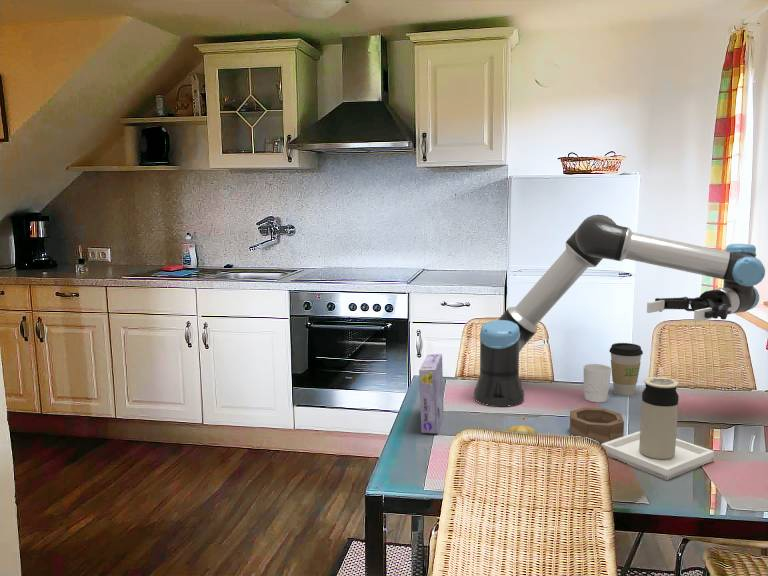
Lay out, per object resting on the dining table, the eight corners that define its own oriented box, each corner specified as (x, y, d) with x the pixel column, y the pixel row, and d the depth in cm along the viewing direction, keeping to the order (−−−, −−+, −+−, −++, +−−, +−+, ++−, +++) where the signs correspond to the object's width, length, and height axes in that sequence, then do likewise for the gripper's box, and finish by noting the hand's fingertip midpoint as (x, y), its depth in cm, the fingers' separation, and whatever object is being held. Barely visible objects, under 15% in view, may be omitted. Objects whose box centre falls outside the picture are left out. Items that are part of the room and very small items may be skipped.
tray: (600, 453, 164) (601, 443, 163) (647, 437, 173) (647, 428, 173) (666, 480, 149) (667, 469, 148) (713, 461, 158) (714, 451, 158)
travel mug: (682, 457, 158) (687, 384, 155) (653, 462, 156) (657, 387, 153) (659, 444, 166) (664, 374, 163) (632, 448, 164) (635, 377, 161)
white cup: (580, 394, 208) (581, 363, 207) (606, 395, 207) (608, 364, 206) (584, 402, 201) (585, 370, 199) (611, 403, 200) (613, 371, 198)
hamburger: (504, 473, 153) (504, 423, 151) (503, 460, 160) (504, 412, 158) (538, 475, 152) (539, 425, 150) (536, 462, 159) (538, 414, 157)
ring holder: (559, 432, 178) (560, 414, 177) (592, 422, 185) (593, 404, 184) (599, 447, 167) (600, 428, 166) (632, 436, 174) (633, 418, 173)
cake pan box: (427, 410, 196) (427, 351, 193) (444, 411, 195) (444, 352, 192) (418, 434, 178) (418, 370, 175) (437, 435, 177) (437, 370, 174)
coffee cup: (643, 398, 204) (645, 350, 202) (609, 396, 206) (611, 349, 204) (638, 388, 213) (640, 342, 211) (605, 387, 215) (607, 341, 213)
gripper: (762, 323, 175) (716, 334, 164) (676, 309, 196) (629, 318, 185) (764, 295, 174) (718, 304, 163) (677, 284, 195) (630, 291, 184)
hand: (670, 311), depth 174 cm, fingers open, 13 cm apart
